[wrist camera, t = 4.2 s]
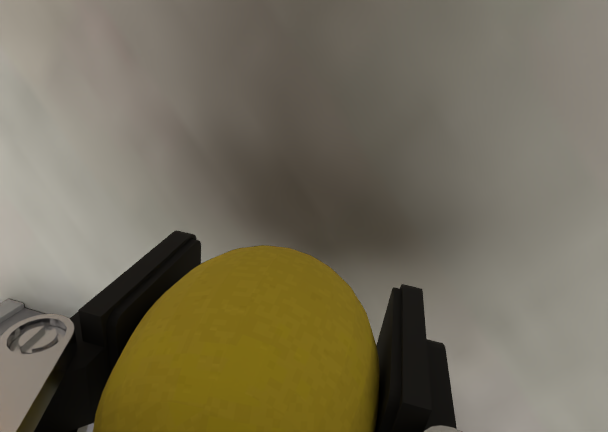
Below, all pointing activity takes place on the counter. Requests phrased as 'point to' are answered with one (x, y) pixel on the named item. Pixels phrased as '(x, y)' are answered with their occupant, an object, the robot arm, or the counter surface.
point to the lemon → (248, 352)
